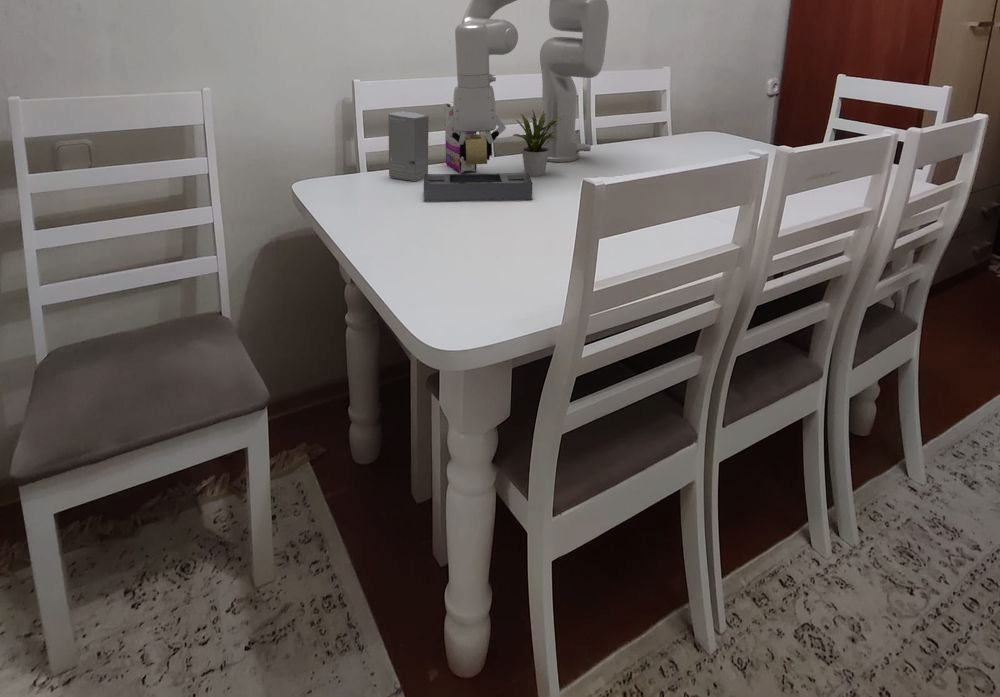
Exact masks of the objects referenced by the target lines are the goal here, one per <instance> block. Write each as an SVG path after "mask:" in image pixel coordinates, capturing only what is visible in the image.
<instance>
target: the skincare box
mask: <svg viewBox="0 0 1000 697" xmlns="http://www.w3.org/2000/svg"><path fill="white" fill-rule="evenodd" d="M429 119H430V116H429V115H428V114H422V113H418V112H409V111H405V110H404V111H403V110H402V111H395V112H389V113H388V176H389V178H390V179H398V180H404V181H412V182H417V181H420V180H422V179H423V180H424V174H429Z"/></svg>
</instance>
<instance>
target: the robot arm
mask: <svg viewBox="0 0 1000 697" xmlns="http://www.w3.org/2000/svg"><path fill="white" fill-rule="evenodd" d="M516 1H518V0H470V3H469V4H468V5H467V9H466V11H465V13H464V16H463V18H462V20H461V23H459V24H458V25H456V27H455V31H454V37H455V40H454V41H455V55H456V56H455V57H456V76H457V77H456V78H457V86H455V87H454V90H453V118H452V119H451V120H450V122H449V123H448V125H447V126H446V127H444V131H445V132H447V133H448V134H449V135H451V136H452V137H453V138H454V139H455V140H456V141H457V142H458V143H459V144H460V154H461V157H463V158H464V161H466V143H465V136H466V132H476V133H477V132H478V133H480V132H482V133H483V132H484V134H485V135H486V140H487V161H490V156H491V157H492V156H493V142H494V141H495V140H496V139H497V138H498V137H499V135H500V134H502V133H503V132H504V131H506V129H507V128H506V125H505V124H504V122H502V120H501V119H500V118H499V117H498V116H497V110H496V109H497V108H496V99H495V91H494V88H493V86H492V85H491V83H493V82H496V80H497V77H496V75H495V74H494V75H493V74H491V73H490V56H495V55H498V56H503V55H507V54H510V53H511V52H512V51H513V50H514V49H515V48H516V46H517V44H518V41H519V32H518V29H517V27H516V26H515V25H514V24H513V23H512V22H510V21H508V20H506V19H493V18H492V16H493V15H494V14H495V13H496V12H497V11H499V10H500V9H501V8H503V7H506V6H507V5H510V4H513V3H514V2H516ZM548 8H549V9H548V10H549V11H548V20H549V24H550V27H552V28H553V29H554V30H556V31H561V32H568V33H569V32H570V33H582V37H581V38H577V37H571V36H570V37H569V36H568V37H567V36H555V37H553V36H552V37H550V38H548V39H546V40H545V41H544V42H543V44H542V45H541V47H540V51H539V63H540V69H541V70H540V71H541V78H542V80H541V81H542V82H541V83H542V84H541V85H542V88H541V89H542V92H541V94H542V97H541V113H542V112H543V110H544V114H546V116H545V123H544V125H543V127H545V126H547V125H548V124H549V123H550V122H551V121H552V120H554V119H556V118H558V117H561V118H559V119H561V120H560V121H559V120H555V121H557V122H555V123H554V124H557V125H555V126H551V127H550V128H549V130H548V131H547V133H552V132H554V131H557V132H554V133H553V134H551V135H553V136H552V137H555V138H557V139H558V140H557V139H554V138H552V139H551V138H548V139H547V140H546V141H545V142H544V144H543V145H542V147H544V148H548V149H549V154H548V159H547V162H551V163H552V162H553V163H564V162H565V163H566V162H567V163H568V162H573V161H577V160H578V159H579V158H580V152H591V150H592V145H591V143H590V144H587V143H577V141H576V140H575V138H576V137H575V136H576V119H577V118H576V116H577V101H578V92H577V87H576V84H575V81H574V80H573V78H580V79H581V78H583V79H584V78H585V79H592V78H595V77H597V76H598V75H599V74H600V72H601V71H602V68H603V67H604V66H603V65H604V61H605V53H606V45H607V36H608V28H609V16H610V13H609V12H610V10H609V4H608V1H607V0H549V7H548ZM563 116H564V117H563ZM453 126H455V130H456V131H458V132H460V135H459V134H458V133H457V132H455V131H454V130H452V128H453ZM543 127H542V128H543ZM546 130H547V129H546ZM546 130H545V132H546ZM491 131H492V132H491ZM445 132H444V133H445ZM542 132H543V130H542V131H541V133H542ZM545 132H544V133H545ZM547 135H549V134H546V135H545V136H544V137H546V136H547ZM556 136H557V137H556ZM541 139H542V138H541ZM550 139H551V140H550ZM549 140H550V141H549ZM548 141H549V142H548ZM547 142H548V143H547ZM546 143H547V144H546Z"/></svg>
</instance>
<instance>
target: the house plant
mask: <svg viewBox="0 0 1000 697" xmlns="http://www.w3.org/2000/svg"><path fill="white" fill-rule="evenodd" d="M531 110H532V116H530V118H531V120H532V127H533V130H532V128H531V124H530V122H529V120H528V118H527V117H525V115H524V114H522V113H520V116H521V118H522V121H523V124H522V123H521V121H519V120H517V118H514V119H515V121H516V122H517V123H518V124H519V125H520V127H521V128H522V129H523V131H524V132H525V134H518V133H515V134H513V135H512V137H519V138H521V139H523V140H524V141H525V142H526V145H527V146H526V147H525V146H524V147H523V148H521V153H522V160H523V168H524V173H528V174H529V176H530V177H531V176H532V177H539V176H540V177H541V176H544V175H545V174H546V173H545V172H546V167H547V163H548V161H547V159H548V154H549V149H548V148H544V147H542V145H543V144H544V142H545V141H546V140H547V139H548V138H551V139H552V138H554V139H557V138H555V137H552V136H553V135H551V134H553V133H554V132H557V131H554V132H552V133H547V131H548V130H549V128H550V127H551V126H555V125H557V124H554V123H555V122H557V121H555V120H559V121H560V120H561V119H559V118H561V117H558V118H556V119H554V120H552V121H551V122H550V123H549V124H548V125H547V126H545V127H543V125H544V123H545V116H546V114H544V110H543V112H542V111H541V115H540V118H539V119H538V120H537V116H536V113H535V111H534V109H533V108H531ZM563 117H564V116H563ZM542 127H543V128H542ZM546 129H547V130H546ZM542 130H543V132H542V133H541V131H542ZM545 130H546V132H545ZM532 131H533V132H532ZM544 132H545V133H544ZM546 134H549V135H547V136H546V137H544V136H545V135H546ZM556 137H557V136H556ZM541 138H542V139H541ZM551 139H550V140H551ZM550 140H549V141H550ZM557 140H558V139H557ZM549 141H548V142H549ZM548 142H547V143H548ZM547 143H546V144H547Z"/></svg>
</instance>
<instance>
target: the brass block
mask: <svg viewBox="0 0 1000 697" xmlns="http://www.w3.org/2000/svg"><path fill="white" fill-rule="evenodd" d="M486 139H487V137H486V133H476V134H471V135H466V136H465V143H466V163H467V165H471V164H476V165H487V164H488V160H487V140H486Z"/></svg>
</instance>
